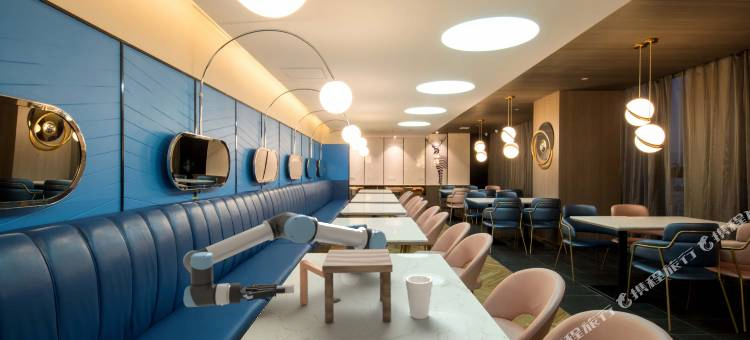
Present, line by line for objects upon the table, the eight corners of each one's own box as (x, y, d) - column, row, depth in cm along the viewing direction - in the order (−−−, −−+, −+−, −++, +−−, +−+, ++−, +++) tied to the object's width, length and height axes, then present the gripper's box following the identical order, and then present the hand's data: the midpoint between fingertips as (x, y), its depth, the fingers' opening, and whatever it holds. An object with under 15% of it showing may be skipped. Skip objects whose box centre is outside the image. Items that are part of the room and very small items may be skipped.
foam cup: (417, 307, 136) (417, 273, 136) (437, 314, 129) (437, 279, 129) (400, 315, 129) (400, 279, 129) (421, 323, 123) (420, 285, 123)
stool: (328, 298, 147) (328, 249, 147) (388, 297, 148) (387, 248, 147) (321, 324, 122) (320, 266, 122) (392, 322, 123) (392, 264, 123)
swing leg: (330, 317, 127) (329, 270, 127) (322, 319, 125) (322, 272, 125) (305, 300, 142) (305, 259, 142) (298, 302, 141) (298, 261, 141)
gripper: (233, 297, 142) (294, 292, 146) (226, 310, 129) (293, 304, 134) (233, 278, 142) (294, 274, 146) (226, 289, 129) (293, 284, 134)
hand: (293, 288), depth 140 cm, fingers closed
